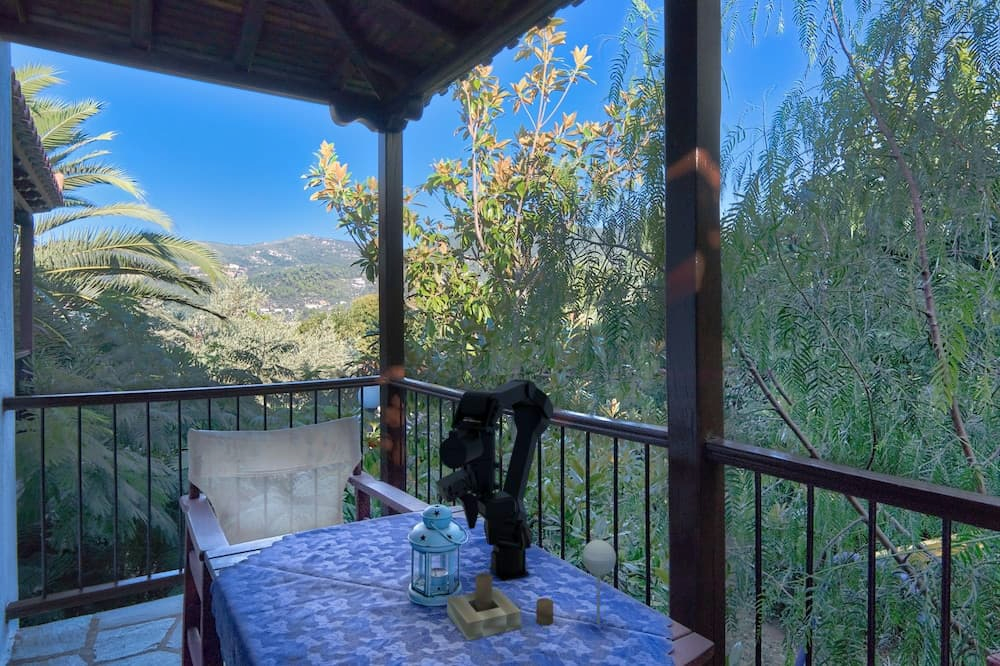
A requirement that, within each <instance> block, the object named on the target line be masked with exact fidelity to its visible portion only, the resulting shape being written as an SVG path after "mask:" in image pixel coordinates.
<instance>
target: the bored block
mask: <svg viewBox="0 0 1000 666" xmlns="http://www.w3.org/2000/svg"><path fill="white" fill-rule="evenodd" d="M446 603H447V604H446V606H447V607H446V614H447V615H448V617H449V618H450V620H451V619H452V620H451V621H452V622H453V624H454V625H455V626H456V628H457V627H458V628H457V629H458V630H459V632H460V633H461V634H462V635H463V637H464V639H465V640H466V641H467V642H468V641H472V640H477V639H481V638H485V637H489V636H494V635H497V634H498V635H499V634H503V633H506V632H511V631H517V630H519V629H522V611H521V610H520V609H519V608H518V607H517V606H516V605H515V604H514V602H512V601H511V600H510V599H509V598H508V597H507V596H506V595H505V593H503V592H502V591H501V590H500V589H499V588H498V587H496V588H495V587H493V588H492V609H490V610H485V611H481V612H476V611H475V591H474V592H470V593H464V594H460V595H459V594H458V595H454V596H450V597H447V600H446Z"/></svg>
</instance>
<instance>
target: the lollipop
mask: <svg viewBox="0 0 1000 666" xmlns="http://www.w3.org/2000/svg"><path fill="white" fill-rule="evenodd" d="M581 559H582V563H583V565H584V567H585V569H586V570H587V571H588V572H589V573H591V574H593V575H596V576H597V579H596V580H597V589H596V592H597V593H596V597H597V598H596V601H597V602H596V604H597V605H596V611H597V612H596V625H597V626H600V624H601V623H600V622H601V621H600V619H601V618H600V617H601V615H600V614H601V613H600V612H601V611H600V610H601V576H605V575H608V574H609V573H611V572H612V570H613V569H614V567H615V566H616V562H617V554H616V551H615V550H614V547H613V546H612V545H611V544H610V543H608V542H607V541H605V540H603V539H594V540H592V541H590V542H588V543H586V545H585V547H584V548H583V551H582V554H581Z"/></svg>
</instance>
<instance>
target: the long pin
mask: <svg viewBox="0 0 1000 666" xmlns="http://www.w3.org/2000/svg"><path fill="white" fill-rule="evenodd" d="M474 578H475V580H474V581H475V585H474V588H475V589H474V590H475V591H474V592H475V611H476V612H481V611H485V610H490V609H492V589H493V575H492V574H490V573H486V572H484V573H478V574H475V577H474Z"/></svg>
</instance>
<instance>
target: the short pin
mask: <svg viewBox="0 0 1000 666" xmlns="http://www.w3.org/2000/svg"><path fill="white" fill-rule="evenodd" d="M535 607H536V613H535V614H536V615H535V616H536V618H535V619H536V623H537V624H538V625H539V626H551V625H553V624H554V601H553V600H552V599H551V598H545V597H543V598H542V597H541V598H538V599H537V600H536V606H535Z"/></svg>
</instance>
